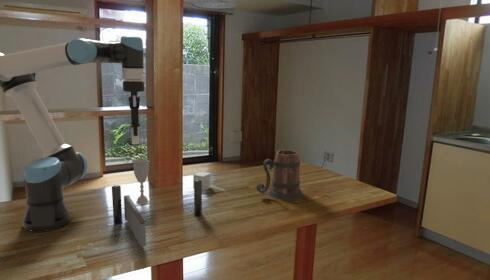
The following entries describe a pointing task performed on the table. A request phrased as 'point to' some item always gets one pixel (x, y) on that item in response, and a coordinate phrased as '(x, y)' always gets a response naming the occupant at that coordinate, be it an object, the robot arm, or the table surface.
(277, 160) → the tankard
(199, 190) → the gate frame
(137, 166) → the chalice
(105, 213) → the table surface
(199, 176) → the product box
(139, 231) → the gate leaf
